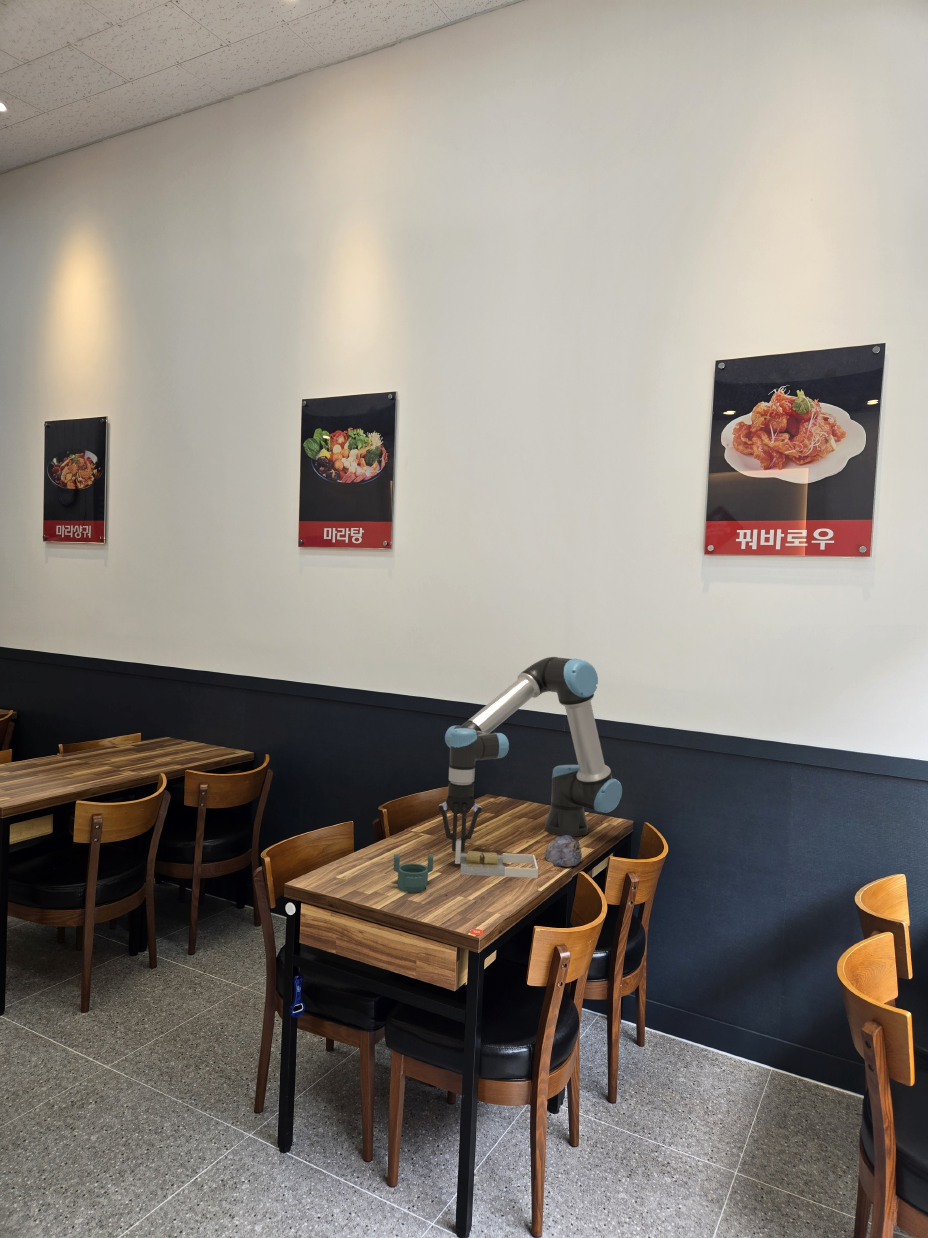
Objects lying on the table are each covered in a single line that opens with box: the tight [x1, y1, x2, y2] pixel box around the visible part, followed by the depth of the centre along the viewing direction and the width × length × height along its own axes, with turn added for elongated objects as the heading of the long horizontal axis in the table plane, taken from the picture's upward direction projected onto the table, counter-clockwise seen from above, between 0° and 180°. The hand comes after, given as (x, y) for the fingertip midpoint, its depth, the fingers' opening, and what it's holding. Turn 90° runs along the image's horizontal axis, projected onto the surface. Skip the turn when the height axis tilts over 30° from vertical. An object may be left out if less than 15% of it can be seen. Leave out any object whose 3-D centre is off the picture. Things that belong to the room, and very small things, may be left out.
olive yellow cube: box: [466, 850, 483, 864], centre depth 228 cm, size 4×4×4 cm
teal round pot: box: [393, 853, 434, 894], centre depth 212 cm, size 9×9×9 cm
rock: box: [544, 835, 583, 867], centre depth 239 cm, size 11×10×10 cm
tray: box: [502, 852, 539, 879], centre depth 228 cm, size 10×13×4 cm
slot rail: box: [460, 852, 506, 877], centre depth 228 cm, size 12×13×3 cm
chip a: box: [482, 852, 498, 865], centre depth 228 cm, size 4×4×4 cm
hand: (457, 862), depth 228 cm, fingers closed
